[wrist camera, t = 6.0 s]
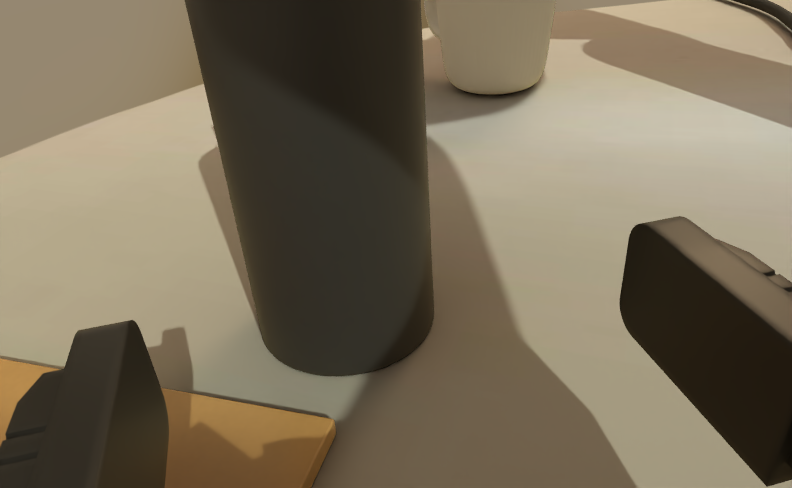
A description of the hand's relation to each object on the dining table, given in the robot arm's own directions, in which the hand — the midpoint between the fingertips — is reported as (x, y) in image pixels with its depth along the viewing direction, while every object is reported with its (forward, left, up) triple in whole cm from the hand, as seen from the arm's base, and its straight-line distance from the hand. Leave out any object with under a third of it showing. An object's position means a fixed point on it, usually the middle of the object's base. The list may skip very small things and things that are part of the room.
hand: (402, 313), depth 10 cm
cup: (-35, -5, -7) cm, 36 cm away
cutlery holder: (-8, -5, -7) cm, 12 cm away
